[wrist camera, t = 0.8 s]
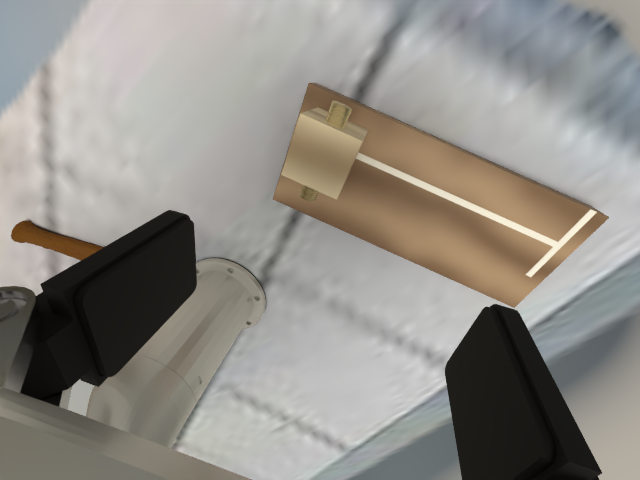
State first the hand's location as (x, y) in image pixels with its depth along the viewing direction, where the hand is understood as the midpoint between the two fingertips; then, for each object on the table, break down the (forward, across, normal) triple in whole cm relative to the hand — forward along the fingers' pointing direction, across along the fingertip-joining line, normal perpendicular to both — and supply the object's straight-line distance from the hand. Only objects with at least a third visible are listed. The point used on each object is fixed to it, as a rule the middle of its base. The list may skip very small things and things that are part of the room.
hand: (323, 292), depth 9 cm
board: (+24, -6, +4) cm, 25 cm away
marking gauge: (+21, +4, 0) cm, 21 cm away
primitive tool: (+23, +40, +25) cm, 53 cm away
